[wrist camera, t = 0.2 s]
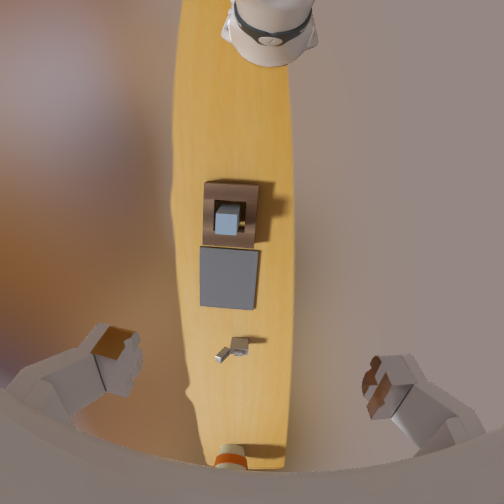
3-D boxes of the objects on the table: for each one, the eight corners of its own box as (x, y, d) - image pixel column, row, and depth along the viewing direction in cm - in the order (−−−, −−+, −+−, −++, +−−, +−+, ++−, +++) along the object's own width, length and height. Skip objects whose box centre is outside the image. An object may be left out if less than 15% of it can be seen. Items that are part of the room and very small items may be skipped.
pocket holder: (207, 181, 53) (204, 183, 51) (258, 184, 53) (258, 186, 51) (205, 239, 58) (202, 244, 55) (253, 243, 58) (253, 248, 55)
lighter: (248, 338, 66) (247, 360, 59) (248, 343, 67) (247, 365, 59) (219, 336, 66) (215, 357, 59) (219, 341, 67) (215, 363, 59)
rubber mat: (200, 246, 58) (199, 247, 58) (258, 250, 58) (258, 251, 58) (200, 304, 63) (200, 305, 62) (253, 308, 63) (253, 310, 62)
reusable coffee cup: (213, 440, 84) (209, 474, 70) (248, 441, 84) (247, 475, 70) (217, 455, 88) (214, 485, 74) (249, 456, 88) (248, 487, 74)
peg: (222, 203, 55) (215, 213, 46) (240, 204, 55) (237, 214, 46) (221, 220, 56) (215, 233, 48) (239, 222, 56) (236, 235, 48)
